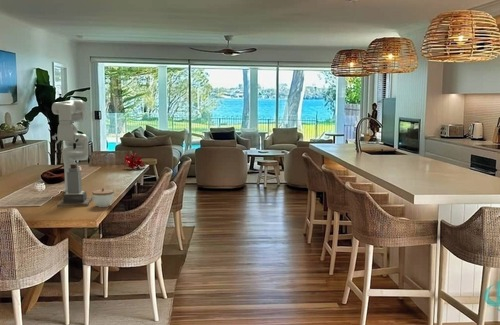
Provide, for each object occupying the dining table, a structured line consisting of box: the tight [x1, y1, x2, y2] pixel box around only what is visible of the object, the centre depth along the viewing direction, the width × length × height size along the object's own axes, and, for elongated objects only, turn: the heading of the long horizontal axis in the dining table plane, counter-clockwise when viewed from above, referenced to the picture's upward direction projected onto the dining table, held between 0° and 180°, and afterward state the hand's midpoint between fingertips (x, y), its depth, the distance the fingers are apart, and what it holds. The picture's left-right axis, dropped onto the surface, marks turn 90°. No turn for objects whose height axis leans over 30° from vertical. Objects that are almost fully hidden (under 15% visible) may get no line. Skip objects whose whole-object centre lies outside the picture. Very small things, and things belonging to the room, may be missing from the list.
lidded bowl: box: [92, 187, 114, 208], centre depth 298 cm, size 13×13×11 cm
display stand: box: [56, 190, 93, 208], centre depth 305 cm, size 20×18×7 cm
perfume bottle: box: [67, 163, 83, 194], centre depth 304 cm, size 7×7×18 cm
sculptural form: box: [122, 150, 147, 170], centre depth 453 cm, size 20×24×21 cm
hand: (66, 149), depth 313 cm, fingers open, 9 cm apart
